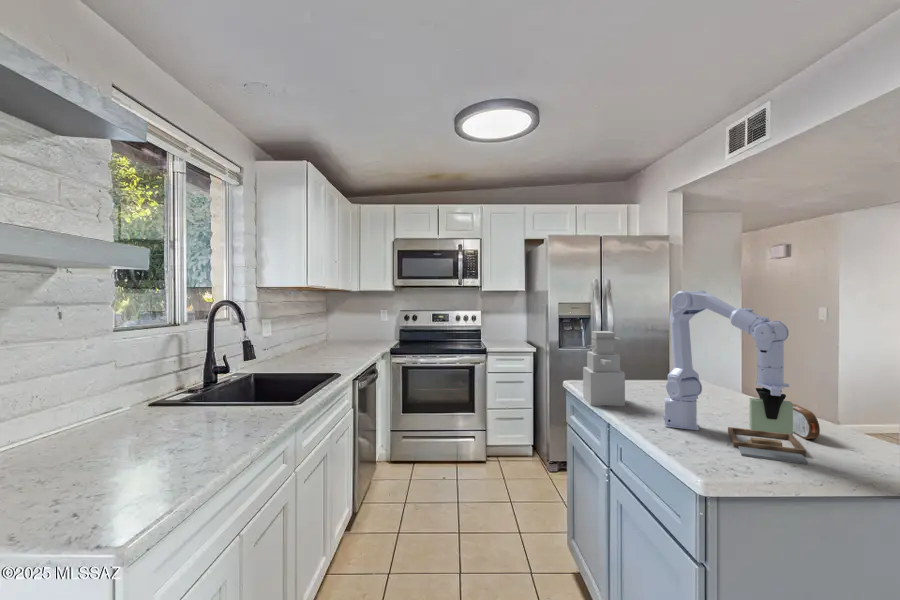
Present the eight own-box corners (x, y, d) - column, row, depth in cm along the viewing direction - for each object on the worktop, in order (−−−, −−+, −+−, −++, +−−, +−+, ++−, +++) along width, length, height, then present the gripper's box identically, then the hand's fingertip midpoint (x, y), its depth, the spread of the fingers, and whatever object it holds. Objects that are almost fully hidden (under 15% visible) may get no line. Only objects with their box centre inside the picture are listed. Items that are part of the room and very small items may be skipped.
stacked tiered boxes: (610, 394, 186) (610, 329, 186) (629, 409, 163) (629, 334, 162) (580, 394, 187) (579, 329, 187) (593, 409, 164) (593, 334, 163)
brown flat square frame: (733, 447, 122) (733, 441, 122) (727, 431, 136) (727, 427, 136) (805, 456, 115) (805, 450, 115) (791, 439, 128) (791, 434, 128)
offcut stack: (748, 446, 124) (748, 439, 124) (746, 443, 126) (746, 436, 126) (782, 450, 121) (782, 443, 121) (780, 447, 123) (780, 440, 123)
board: (751, 429, 118) (751, 400, 118) (749, 426, 120) (749, 397, 120) (793, 434, 114) (792, 403, 114) (790, 431, 116) (790, 401, 116)
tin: (821, 443, 125) (821, 414, 125) (808, 442, 125) (808, 413, 125) (791, 427, 139) (791, 401, 139) (780, 427, 140) (780, 400, 140)
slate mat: (741, 455, 116) (741, 453, 116) (738, 448, 121) (738, 446, 121) (807, 464, 110) (807, 462, 110) (801, 456, 115) (801, 454, 115)
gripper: (795, 372, 109) (795, 426, 109) (782, 363, 122) (782, 412, 122) (761, 370, 112) (761, 422, 112) (751, 361, 125) (752, 409, 125)
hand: (770, 417), depth 117 cm, fingers closed on board, 3 cm apart
